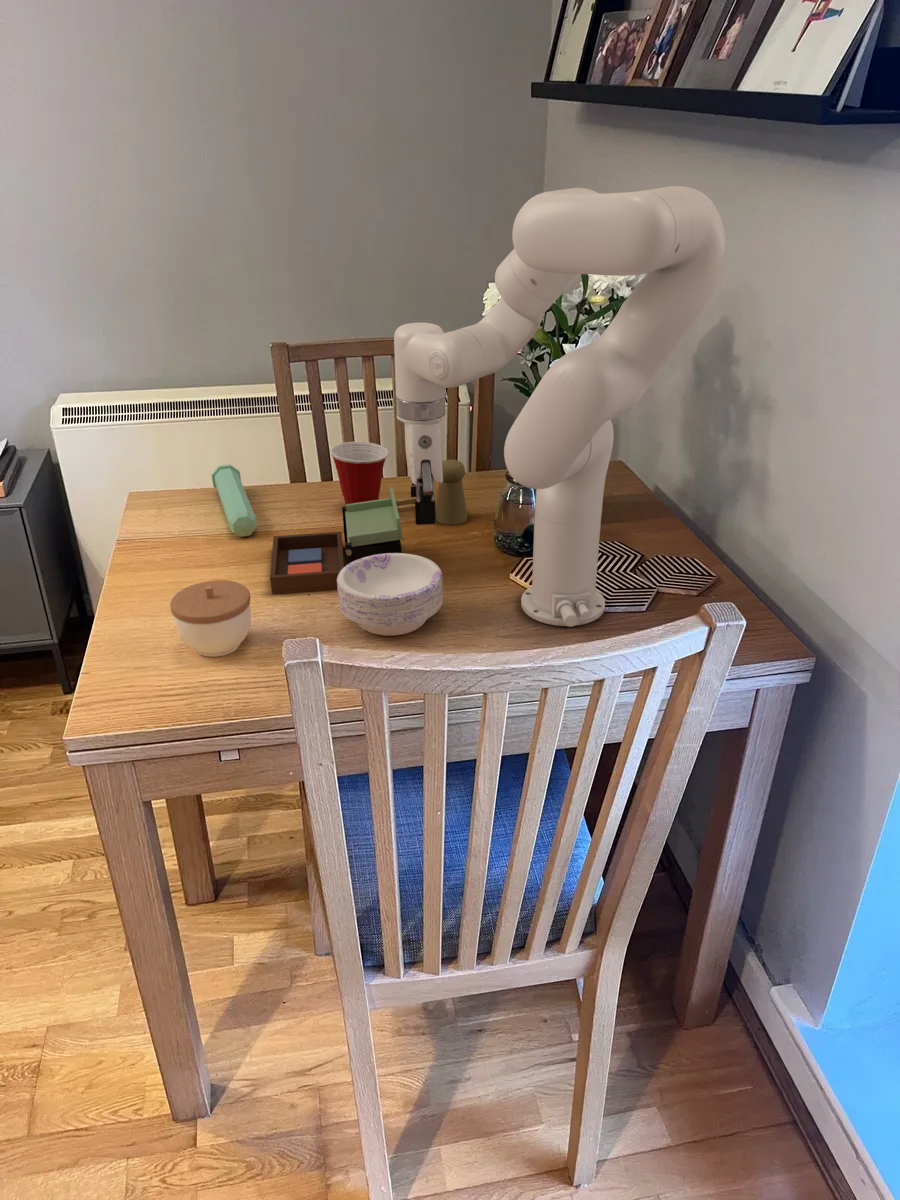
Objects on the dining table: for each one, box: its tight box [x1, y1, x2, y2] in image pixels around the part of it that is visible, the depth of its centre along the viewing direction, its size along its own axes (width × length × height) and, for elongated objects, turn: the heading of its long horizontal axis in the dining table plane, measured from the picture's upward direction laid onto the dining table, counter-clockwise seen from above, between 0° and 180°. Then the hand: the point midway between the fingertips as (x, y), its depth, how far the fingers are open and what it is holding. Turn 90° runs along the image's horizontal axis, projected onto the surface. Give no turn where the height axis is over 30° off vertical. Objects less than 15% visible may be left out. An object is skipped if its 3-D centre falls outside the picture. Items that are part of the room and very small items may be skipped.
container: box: [211, 463, 258, 538], centre depth 164 cm, size 6×6×25 cm
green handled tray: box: [345, 487, 417, 547], centre depth 141 cm, size 13×14×4 cm
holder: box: [269, 531, 345, 595], centre depth 143 cm, size 16×12×3 cm
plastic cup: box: [329, 441, 389, 505], centre depth 163 cm, size 11×11×12 cm
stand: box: [341, 506, 402, 565], centre depth 144 cm, size 17×9×8 cm, turn 8°
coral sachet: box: [288, 563, 322, 574], centre depth 141 cm, size 5×6×1 cm
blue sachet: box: [288, 548, 322, 565], centre depth 146 cm, size 5×6×1 cm
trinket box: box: [169, 579, 252, 658], centre depth 121 cm, size 11×11×9 cm
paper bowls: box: [337, 552, 444, 637], centre depth 127 cm, size 15×15×8 cm
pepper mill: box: [435, 459, 468, 526], centre depth 159 cm, size 6×6×11 cm
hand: (423, 515), depth 142 cm, fingers closed on green handled tray, 5 cm apart
